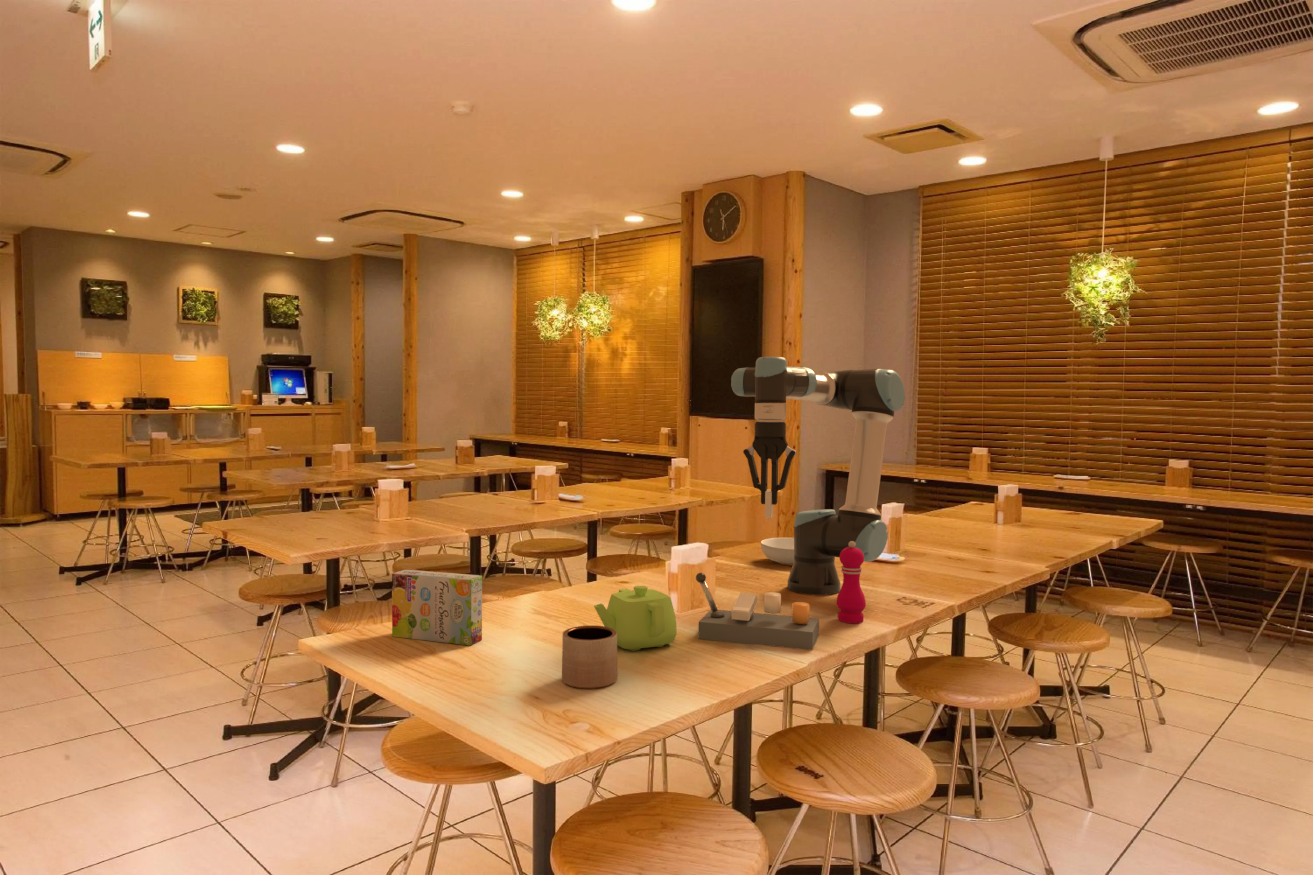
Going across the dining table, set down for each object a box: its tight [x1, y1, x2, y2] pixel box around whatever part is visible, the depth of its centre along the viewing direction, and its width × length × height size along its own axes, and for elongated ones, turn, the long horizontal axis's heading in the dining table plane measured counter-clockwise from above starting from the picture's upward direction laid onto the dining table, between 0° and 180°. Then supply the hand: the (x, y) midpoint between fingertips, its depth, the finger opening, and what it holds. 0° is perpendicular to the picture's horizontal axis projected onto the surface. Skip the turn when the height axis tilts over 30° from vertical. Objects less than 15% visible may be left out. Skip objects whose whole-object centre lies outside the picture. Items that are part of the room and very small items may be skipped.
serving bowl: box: [760, 537, 794, 566], centre depth 280 cm, size 21×21×7 cm
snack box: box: [391, 569, 483, 646], centre depth 190 cm, size 21×6×15 cm, turn 71°
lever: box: [695, 572, 719, 613], centre depth 196 cm, size 2×2×10 cm
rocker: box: [730, 592, 758, 621], centre depth 193 cm, size 10×4×2 cm, turn 162°
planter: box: [561, 625, 618, 690], centre depth 163 cm, size 11×11×10 cm
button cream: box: [763, 591, 782, 615], centre depth 192 cm, size 4×4×4 cm
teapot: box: [593, 585, 677, 652], centre depth 186 cm, size 18×20×13 cm
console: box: [698, 609, 820, 651], centre depth 193 cm, size 12×26×6 cm, turn 72°
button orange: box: [791, 601, 810, 624], centre depth 190 cm, size 4×4×4 cm
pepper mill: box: [835, 541, 867, 624], centre depth 208 cm, size 7×7×20 cm
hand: (769, 517), depth 202 cm, fingers closed
